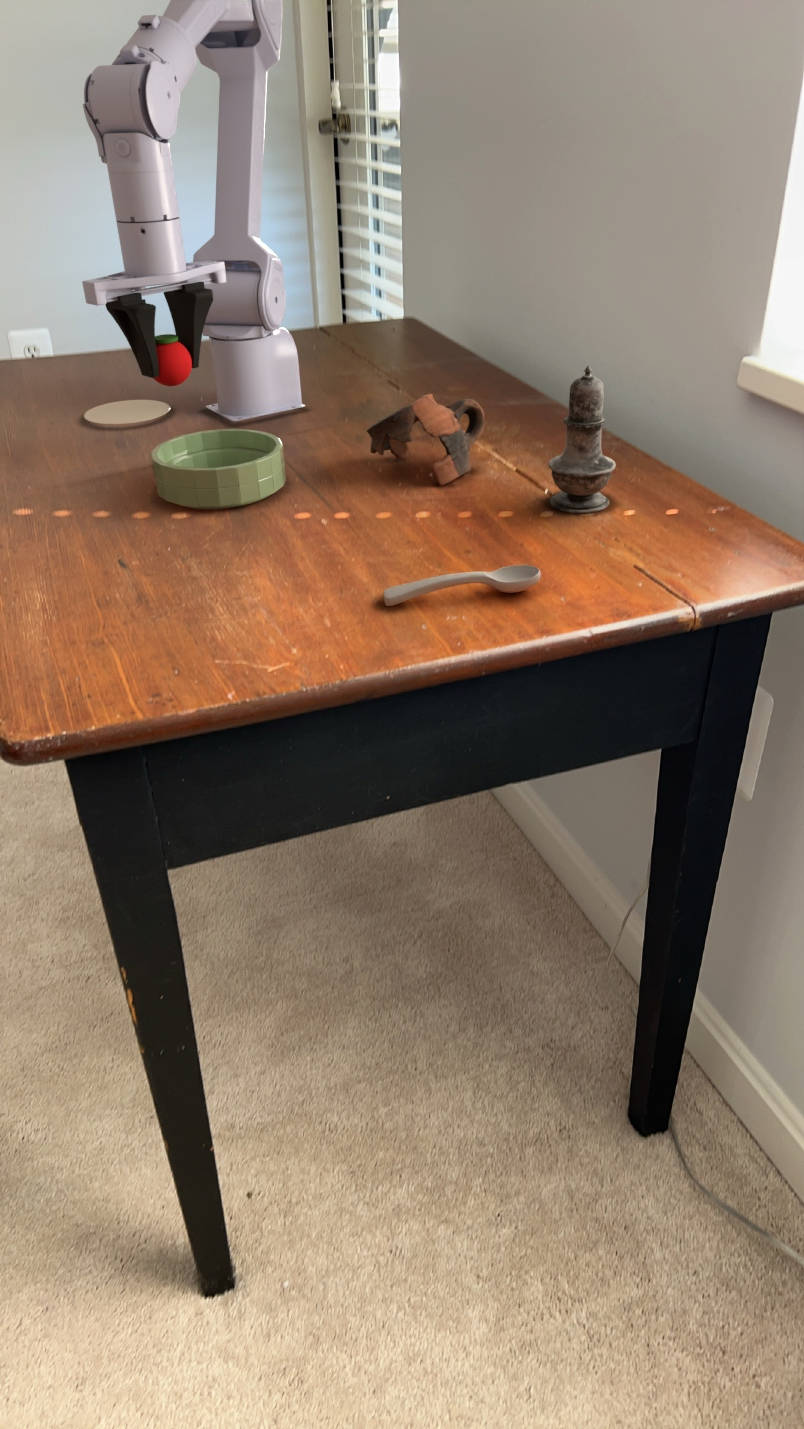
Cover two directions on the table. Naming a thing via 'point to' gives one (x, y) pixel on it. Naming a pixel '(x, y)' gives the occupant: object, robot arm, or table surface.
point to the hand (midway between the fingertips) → (170, 371)
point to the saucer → (126, 412)
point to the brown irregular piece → (432, 433)
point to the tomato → (172, 360)
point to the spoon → (467, 582)
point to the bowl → (219, 468)
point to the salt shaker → (582, 451)
